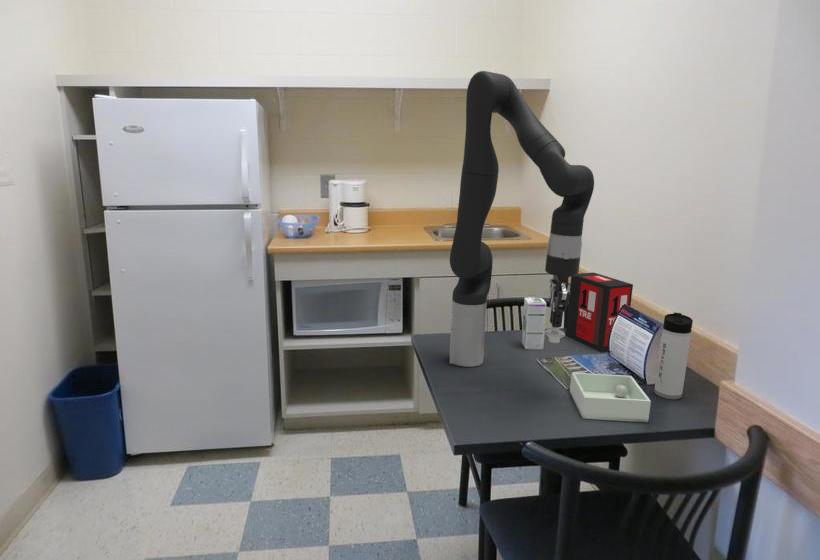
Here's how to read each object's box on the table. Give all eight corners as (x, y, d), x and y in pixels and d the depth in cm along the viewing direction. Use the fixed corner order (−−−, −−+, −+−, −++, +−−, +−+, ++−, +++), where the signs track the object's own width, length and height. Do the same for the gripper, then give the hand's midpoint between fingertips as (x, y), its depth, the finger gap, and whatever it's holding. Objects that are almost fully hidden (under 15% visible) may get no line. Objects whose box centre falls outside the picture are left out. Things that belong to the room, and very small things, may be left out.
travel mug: (680, 390, 144) (691, 314, 140) (683, 401, 138) (695, 321, 133) (653, 386, 146) (663, 310, 141) (654, 397, 140) (665, 318, 135)
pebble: (616, 399, 137) (617, 387, 136) (612, 393, 140) (613, 382, 139) (628, 400, 137) (630, 388, 136) (625, 394, 140) (626, 383, 139)
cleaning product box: (625, 349, 173) (633, 284, 168) (602, 352, 169) (609, 286, 165) (587, 332, 188) (593, 272, 183) (565, 335, 184) (571, 274, 179)
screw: (562, 338, 140) (566, 345, 135) (542, 337, 140) (545, 344, 136) (568, 286, 137) (572, 291, 132) (547, 285, 137) (551, 290, 133)
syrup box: (543, 350, 170) (548, 302, 167) (523, 349, 170) (527, 301, 167) (539, 343, 176) (543, 297, 172) (520, 342, 176) (523, 296, 172)
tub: (582, 418, 128) (584, 397, 127) (569, 391, 142) (571, 372, 141) (648, 422, 127) (650, 401, 126) (628, 395, 141) (631, 375, 140)
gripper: (542, 246, 140) (535, 315, 144) (552, 258, 126) (543, 333, 131) (574, 248, 139) (566, 317, 143) (586, 260, 126) (577, 336, 130)
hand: (555, 324), depth 137 cm, fingers closed on screw, 2 cm apart
